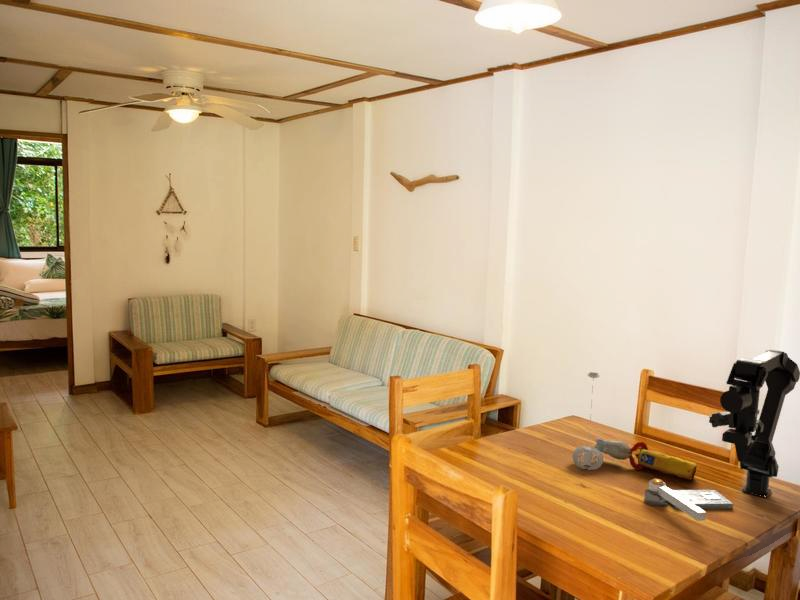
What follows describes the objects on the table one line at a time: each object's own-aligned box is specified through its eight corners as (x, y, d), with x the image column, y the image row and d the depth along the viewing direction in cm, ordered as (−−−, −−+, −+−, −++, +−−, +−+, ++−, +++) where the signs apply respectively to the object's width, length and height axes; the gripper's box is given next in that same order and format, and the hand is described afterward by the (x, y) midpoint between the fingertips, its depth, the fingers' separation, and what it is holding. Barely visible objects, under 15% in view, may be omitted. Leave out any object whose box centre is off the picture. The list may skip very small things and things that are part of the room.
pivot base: (648, 495, 184) (649, 486, 184) (670, 501, 181) (671, 492, 180) (640, 502, 180) (641, 493, 180) (663, 508, 176) (663, 499, 176)
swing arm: (644, 488, 181) (645, 478, 181) (658, 487, 183) (659, 477, 182) (693, 522, 162) (694, 510, 162) (708, 520, 163) (709, 508, 163)
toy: (701, 451, 201) (603, 423, 216) (696, 463, 191) (593, 434, 205) (695, 477, 203) (599, 448, 218) (690, 491, 192) (588, 460, 207)
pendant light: (599, 462, 209) (605, 370, 205) (605, 473, 200) (612, 377, 196) (569, 460, 210) (575, 369, 206) (574, 471, 200) (580, 376, 197)
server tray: (676, 509, 176) (676, 502, 176) (660, 495, 185) (660, 488, 185) (732, 508, 177) (733, 502, 177) (714, 494, 186) (714, 488, 186)
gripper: (723, 393, 189) (718, 445, 191) (704, 406, 174) (699, 462, 176) (766, 401, 181) (761, 455, 183) (750, 415, 167) (744, 474, 169)
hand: (740, 461), depth 178 cm, fingers closed
